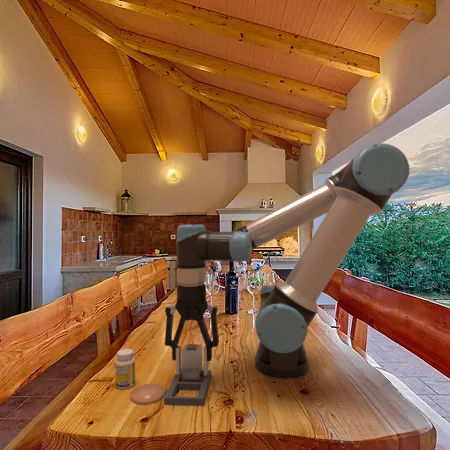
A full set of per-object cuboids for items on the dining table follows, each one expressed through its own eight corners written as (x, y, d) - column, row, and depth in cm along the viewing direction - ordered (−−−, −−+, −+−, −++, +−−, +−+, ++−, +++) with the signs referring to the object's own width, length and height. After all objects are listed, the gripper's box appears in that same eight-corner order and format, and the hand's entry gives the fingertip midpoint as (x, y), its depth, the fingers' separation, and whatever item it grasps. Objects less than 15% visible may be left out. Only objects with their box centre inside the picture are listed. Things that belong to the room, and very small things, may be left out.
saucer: (168, 387, 79) (168, 384, 79) (159, 404, 71) (159, 401, 71) (137, 386, 80) (137, 383, 80) (125, 403, 72) (125, 400, 72)
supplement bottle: (128, 378, 84) (128, 346, 85) (138, 383, 81) (138, 351, 82) (111, 385, 81) (111, 352, 81) (122, 391, 78) (122, 357, 78)
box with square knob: (202, 378, 84) (201, 342, 84) (199, 386, 80) (199, 349, 80) (185, 378, 84) (185, 342, 85) (181, 386, 80) (181, 349, 80)
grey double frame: (211, 375, 85) (211, 370, 85) (203, 405, 71) (203, 399, 71) (178, 375, 86) (178, 369, 86) (164, 404, 72) (164, 397, 72)
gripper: (229, 281, 85) (230, 367, 85) (159, 281, 87) (159, 365, 87) (227, 286, 78) (228, 380, 78) (150, 286, 79) (151, 378, 79)
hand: (192, 372), depth 82 cm, fingers open, 6 cm apart
